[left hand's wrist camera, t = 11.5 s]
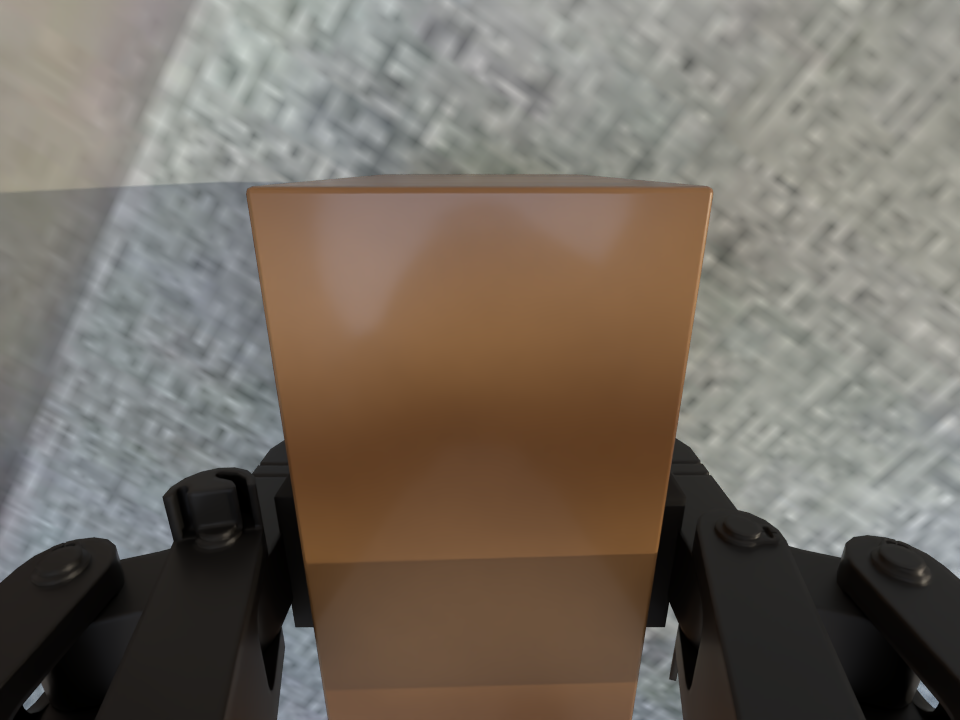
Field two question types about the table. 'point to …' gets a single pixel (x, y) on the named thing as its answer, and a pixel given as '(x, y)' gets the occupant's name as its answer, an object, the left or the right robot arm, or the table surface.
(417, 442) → the post
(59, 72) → the table surface
